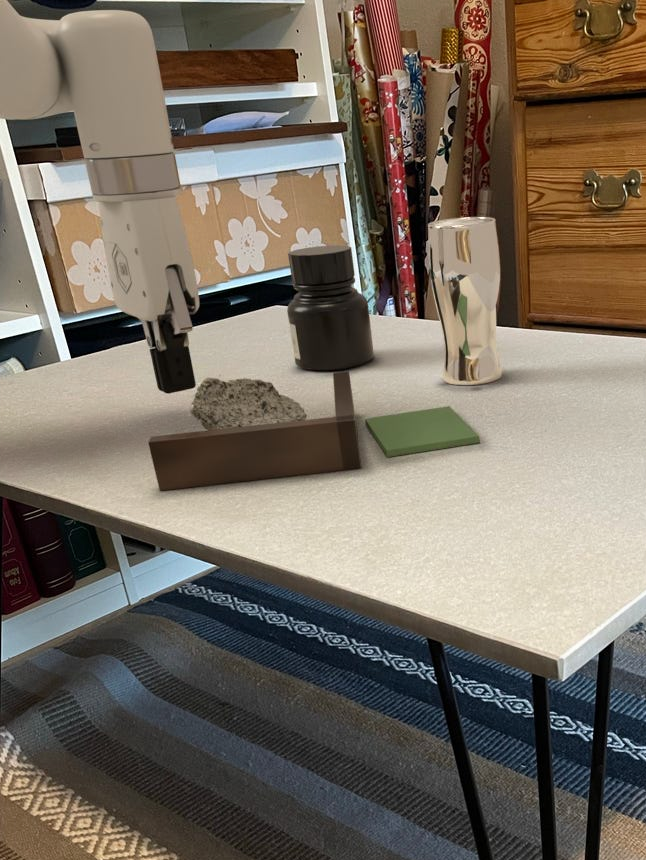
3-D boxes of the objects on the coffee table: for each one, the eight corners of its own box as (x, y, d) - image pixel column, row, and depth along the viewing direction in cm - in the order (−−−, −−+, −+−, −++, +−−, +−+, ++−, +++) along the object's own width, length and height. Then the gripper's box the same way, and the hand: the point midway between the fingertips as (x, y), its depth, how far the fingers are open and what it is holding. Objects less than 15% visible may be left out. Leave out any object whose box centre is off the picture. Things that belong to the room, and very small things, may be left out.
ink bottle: (327, 350, 117) (312, 243, 111) (390, 353, 113) (378, 243, 107) (278, 371, 110) (259, 257, 104) (344, 375, 106) (328, 257, 100)
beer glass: (447, 369, 105) (435, 218, 98) (511, 368, 104) (503, 215, 96) (432, 387, 99) (417, 228, 92) (499, 386, 98) (490, 224, 90)
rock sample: (252, 422, 78) (222, 336, 81) (202, 476, 83) (175, 392, 85) (348, 443, 86) (318, 364, 89) (298, 492, 91) (271, 414, 93)
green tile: (387, 457, 81) (386, 450, 81) (365, 424, 89) (364, 418, 89) (480, 442, 83) (479, 435, 82) (450, 412, 91) (449, 405, 91)
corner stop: (159, 491, 78) (147, 442, 76) (183, 431, 91) (174, 389, 89) (361, 468, 79) (354, 419, 77) (354, 413, 93) (349, 371, 91)
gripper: (64, 181, 89) (112, 383, 98) (122, 186, 78) (170, 413, 87) (144, 173, 93) (183, 369, 101) (210, 177, 82) (247, 395, 91)
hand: (177, 389), depth 94 cm, fingers closed
